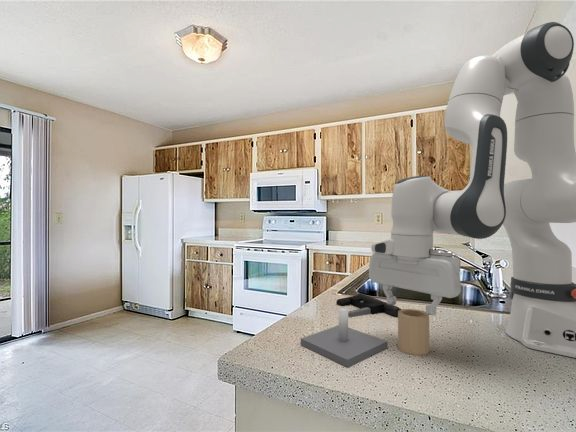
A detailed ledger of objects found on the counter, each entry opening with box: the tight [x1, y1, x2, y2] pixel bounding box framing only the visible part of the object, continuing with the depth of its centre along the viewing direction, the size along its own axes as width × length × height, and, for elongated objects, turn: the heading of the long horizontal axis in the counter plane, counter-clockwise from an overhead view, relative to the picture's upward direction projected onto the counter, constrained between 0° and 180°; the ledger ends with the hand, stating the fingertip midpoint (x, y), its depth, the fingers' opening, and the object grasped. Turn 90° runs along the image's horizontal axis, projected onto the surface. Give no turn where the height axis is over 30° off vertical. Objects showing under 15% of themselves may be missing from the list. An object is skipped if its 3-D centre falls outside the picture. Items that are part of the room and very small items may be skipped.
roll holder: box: [300, 307, 389, 368], centre depth 71 cm, size 14×14×8 cm
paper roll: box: [397, 308, 430, 356], centre depth 69 cm, size 6×6×8 cm
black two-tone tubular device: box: [335, 292, 402, 318], centre depth 98 cm, size 3×20×16 cm
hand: (410, 309), depth 69 cm, fingers open, 8 cm apart
